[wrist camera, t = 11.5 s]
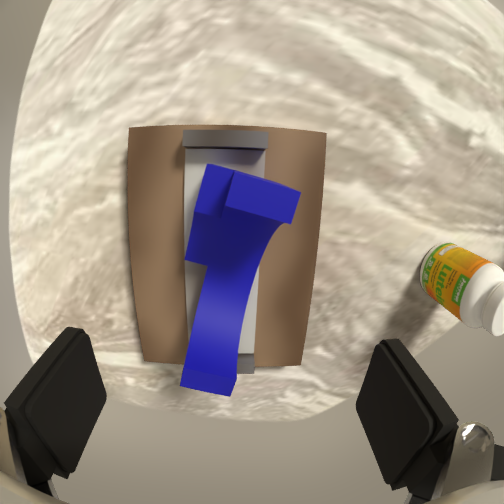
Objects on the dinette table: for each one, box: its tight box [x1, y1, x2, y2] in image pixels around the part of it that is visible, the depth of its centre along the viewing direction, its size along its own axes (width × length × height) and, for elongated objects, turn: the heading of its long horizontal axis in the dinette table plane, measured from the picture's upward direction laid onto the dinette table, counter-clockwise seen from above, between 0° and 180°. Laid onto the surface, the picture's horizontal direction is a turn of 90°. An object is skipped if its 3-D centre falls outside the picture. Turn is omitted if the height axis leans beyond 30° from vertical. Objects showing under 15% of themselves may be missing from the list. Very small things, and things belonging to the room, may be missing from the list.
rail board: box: [128, 125, 326, 374], centre depth 20 cm, size 13×18×4 cm
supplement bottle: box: [420, 242, 504, 336], centre depth 19 cm, size 5×5×10 cm
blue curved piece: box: [180, 163, 301, 397], centre depth 17 cm, size 12×4×6 cm, turn 164°
